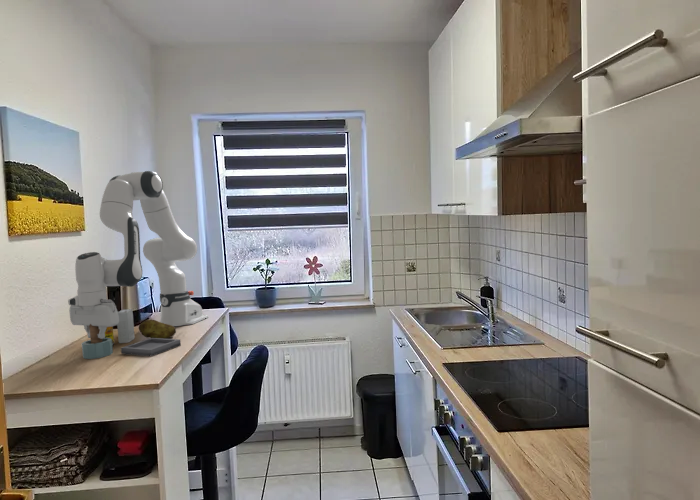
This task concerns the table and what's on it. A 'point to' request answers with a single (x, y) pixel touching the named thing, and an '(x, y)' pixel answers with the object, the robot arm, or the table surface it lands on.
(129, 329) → the skincare box
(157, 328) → the potato
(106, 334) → the supplement bottle
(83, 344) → the tube
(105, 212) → the robot arm
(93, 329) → the dowel
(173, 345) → the tray
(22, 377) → the table surface
